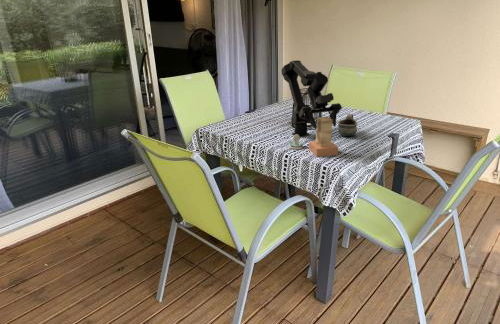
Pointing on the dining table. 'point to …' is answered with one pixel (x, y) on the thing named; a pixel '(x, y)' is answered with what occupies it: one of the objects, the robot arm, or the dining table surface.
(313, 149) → the terracotta block
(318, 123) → the birch block
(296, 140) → the pacifier
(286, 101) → the dining table surface
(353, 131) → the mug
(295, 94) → the robot arm
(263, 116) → the dining table surface
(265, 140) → the dining table surface
